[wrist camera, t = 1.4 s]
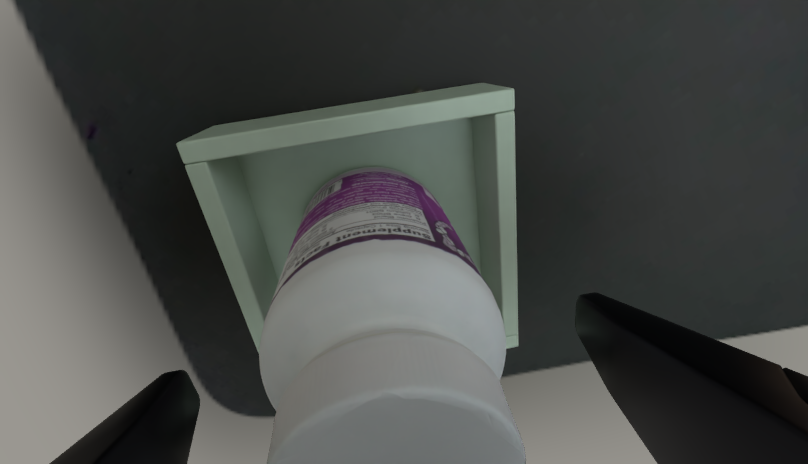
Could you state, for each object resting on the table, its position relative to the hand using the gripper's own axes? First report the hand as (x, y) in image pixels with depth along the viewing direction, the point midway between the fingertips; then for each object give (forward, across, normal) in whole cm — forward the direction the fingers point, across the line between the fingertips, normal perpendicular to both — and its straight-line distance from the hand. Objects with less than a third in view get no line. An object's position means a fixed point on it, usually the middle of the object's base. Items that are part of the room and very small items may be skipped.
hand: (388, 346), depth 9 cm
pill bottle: (+6, 0, 0) cm, 7 cm away
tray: (+7, 0, 0) cm, 7 cm away
